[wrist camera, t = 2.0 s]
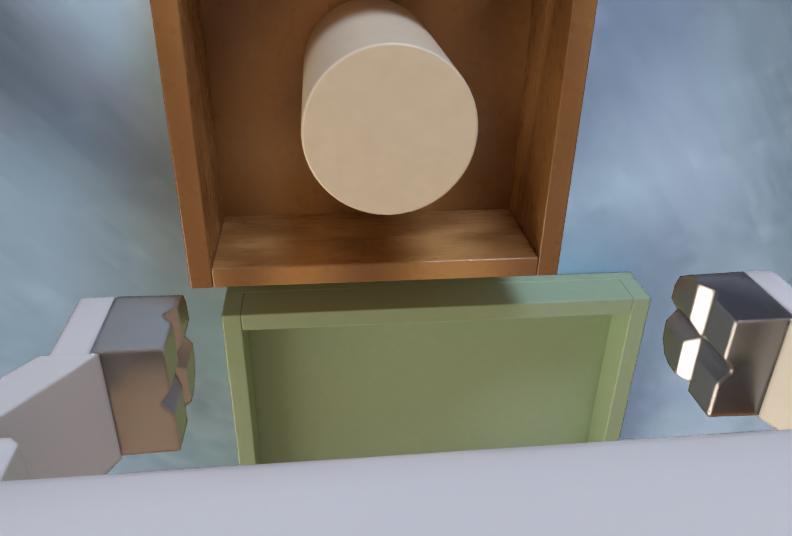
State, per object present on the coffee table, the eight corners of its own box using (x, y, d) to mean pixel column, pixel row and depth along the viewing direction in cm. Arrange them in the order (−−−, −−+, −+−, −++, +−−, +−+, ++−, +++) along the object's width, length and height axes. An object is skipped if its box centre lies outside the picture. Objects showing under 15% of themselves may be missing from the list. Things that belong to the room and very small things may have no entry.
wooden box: (563, -136, 25) (619, -138, 20) (522, 218, 31) (557, 275, 27) (162, -146, 23) (128, -150, 19) (208, 227, 30) (190, 288, 25)
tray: (629, 271, 33) (651, 298, 31) (586, 482, 40) (601, 515, 38) (227, 286, 31) (221, 315, 29) (251, 504, 38) (248, 541, 36)
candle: (438, -3, 26) (485, 42, 19) (432, 130, 28) (472, 213, 21) (300, -4, 25) (296, 42, 18) (306, 132, 28) (305, 218, 21)
